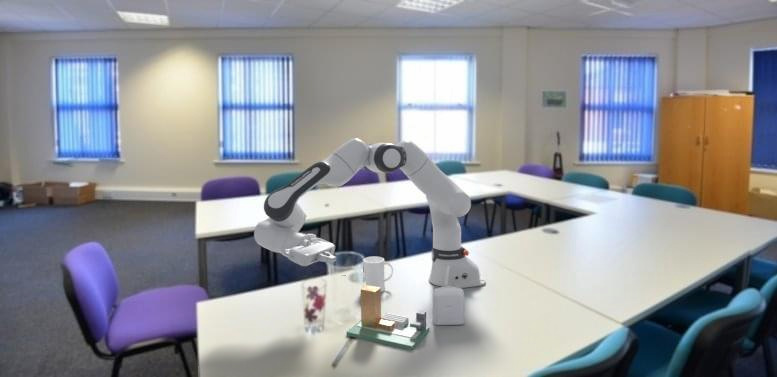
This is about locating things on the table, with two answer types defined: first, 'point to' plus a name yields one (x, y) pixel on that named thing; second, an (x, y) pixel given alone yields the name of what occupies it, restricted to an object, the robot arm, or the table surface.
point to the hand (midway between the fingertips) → (334, 260)
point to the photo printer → (448, 306)
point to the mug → (375, 271)
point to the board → (394, 331)
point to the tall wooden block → (373, 309)
